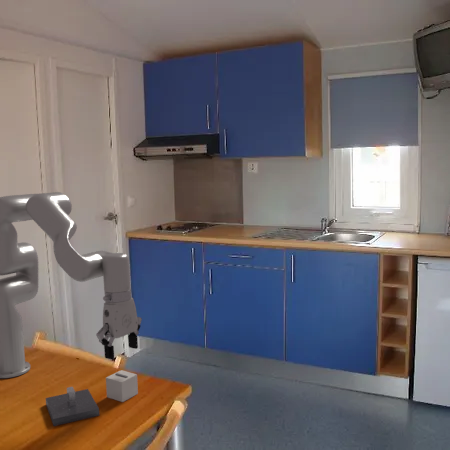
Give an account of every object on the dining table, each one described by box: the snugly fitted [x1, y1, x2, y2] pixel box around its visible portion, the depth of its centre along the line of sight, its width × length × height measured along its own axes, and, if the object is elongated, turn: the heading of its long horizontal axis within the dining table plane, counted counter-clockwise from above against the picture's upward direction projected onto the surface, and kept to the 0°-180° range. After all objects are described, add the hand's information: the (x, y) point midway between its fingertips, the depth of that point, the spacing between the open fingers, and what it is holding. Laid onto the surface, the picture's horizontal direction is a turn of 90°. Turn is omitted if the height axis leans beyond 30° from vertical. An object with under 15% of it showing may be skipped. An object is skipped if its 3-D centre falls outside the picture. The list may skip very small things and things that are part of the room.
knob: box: [105, 369, 139, 403], centre depth 154 cm, size 6×6×6 cm
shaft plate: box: [45, 386, 100, 427], centre depth 146 cm, size 14×12×6 cm
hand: (121, 353), depth 153 cm, fingers open, 9 cm apart
